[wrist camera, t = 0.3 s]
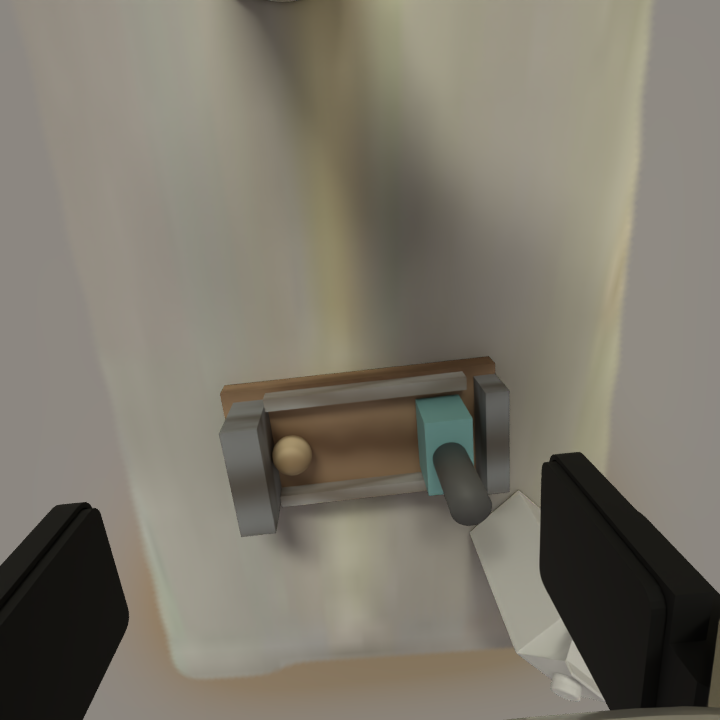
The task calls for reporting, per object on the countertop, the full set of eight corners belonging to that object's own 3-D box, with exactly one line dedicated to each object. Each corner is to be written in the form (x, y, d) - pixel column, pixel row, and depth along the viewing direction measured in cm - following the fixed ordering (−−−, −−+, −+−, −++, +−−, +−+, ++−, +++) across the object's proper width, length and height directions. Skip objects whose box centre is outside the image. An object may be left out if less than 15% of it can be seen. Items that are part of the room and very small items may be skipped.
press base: (224, 385, 48) (203, 423, 40) (488, 356, 48) (517, 388, 40) (246, 494, 52) (231, 547, 44) (490, 466, 52) (517, 515, 44)
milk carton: (517, 488, 53) (611, 644, 35) (560, 525, 55) (670, 692, 37) (468, 531, 54) (533, 702, 37) (511, 566, 56) (593, 745, 38)
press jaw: (415, 399, 46) (441, 468, 35) (458, 394, 46) (498, 462, 35) (419, 465, 49) (445, 551, 37) (461, 460, 49) (499, 544, 38)
